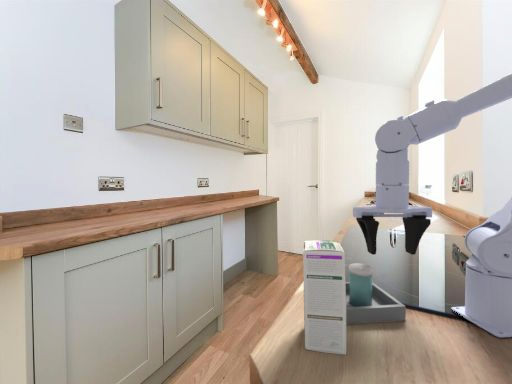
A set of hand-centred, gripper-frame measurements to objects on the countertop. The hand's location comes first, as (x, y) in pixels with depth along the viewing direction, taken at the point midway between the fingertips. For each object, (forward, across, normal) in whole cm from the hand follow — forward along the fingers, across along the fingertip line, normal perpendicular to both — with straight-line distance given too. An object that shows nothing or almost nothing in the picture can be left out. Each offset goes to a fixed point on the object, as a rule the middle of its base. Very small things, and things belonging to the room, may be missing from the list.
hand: (391, 253), depth 47 cm
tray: (+9, -7, -3) cm, 12 cm away
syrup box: (+10, -17, -12) cm, 23 cm away
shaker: (+9, -7, -3) cm, 12 cm away
